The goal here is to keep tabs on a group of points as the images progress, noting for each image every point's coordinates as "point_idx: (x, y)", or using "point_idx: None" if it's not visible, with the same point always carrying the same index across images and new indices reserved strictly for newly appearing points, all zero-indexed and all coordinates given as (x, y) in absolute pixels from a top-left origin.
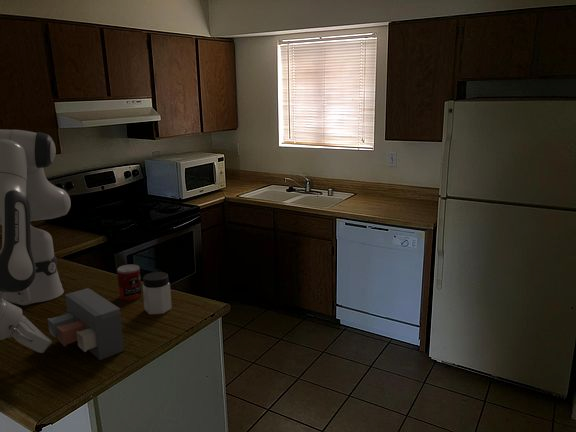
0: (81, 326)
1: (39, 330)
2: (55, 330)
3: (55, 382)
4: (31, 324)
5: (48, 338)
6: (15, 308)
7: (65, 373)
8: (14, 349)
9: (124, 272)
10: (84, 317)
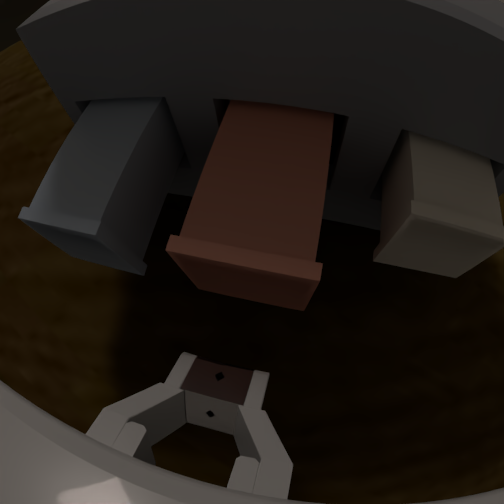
0: (330, 141)
1: (219, 494)
2: (127, 251)
3: (450, 458)
4: (62, 490)
5: (243, 392)
6: None
7: (430, 402)
8: (29, 391)
9: None
10: (368, 73)
